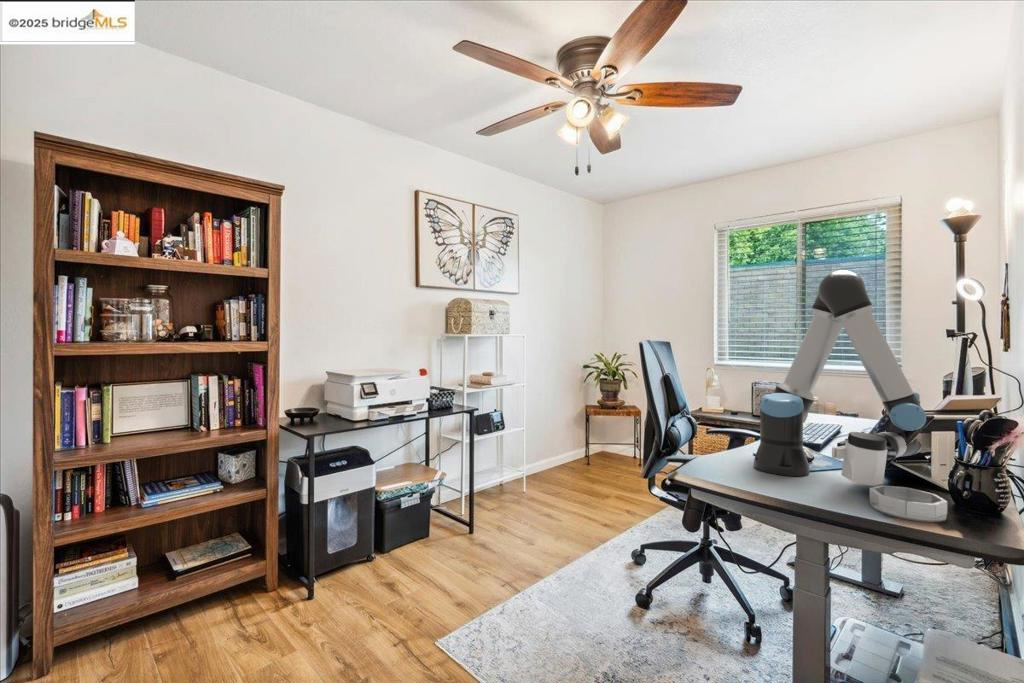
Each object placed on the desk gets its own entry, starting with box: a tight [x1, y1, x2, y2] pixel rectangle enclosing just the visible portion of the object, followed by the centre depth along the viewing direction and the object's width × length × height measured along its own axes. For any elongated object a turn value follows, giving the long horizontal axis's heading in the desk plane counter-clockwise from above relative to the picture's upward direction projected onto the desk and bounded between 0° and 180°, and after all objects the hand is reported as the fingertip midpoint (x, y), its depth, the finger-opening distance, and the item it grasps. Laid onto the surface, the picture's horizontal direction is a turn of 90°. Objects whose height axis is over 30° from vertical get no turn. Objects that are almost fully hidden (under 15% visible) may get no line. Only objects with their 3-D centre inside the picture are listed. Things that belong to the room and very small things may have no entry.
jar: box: [841, 431, 888, 487], centre depth 124 cm, size 9×8×12 cm
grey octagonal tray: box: [869, 484, 948, 523], centre depth 111 cm, size 14×14×4 cm
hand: (835, 453), depth 125 cm, fingers closed on jar
